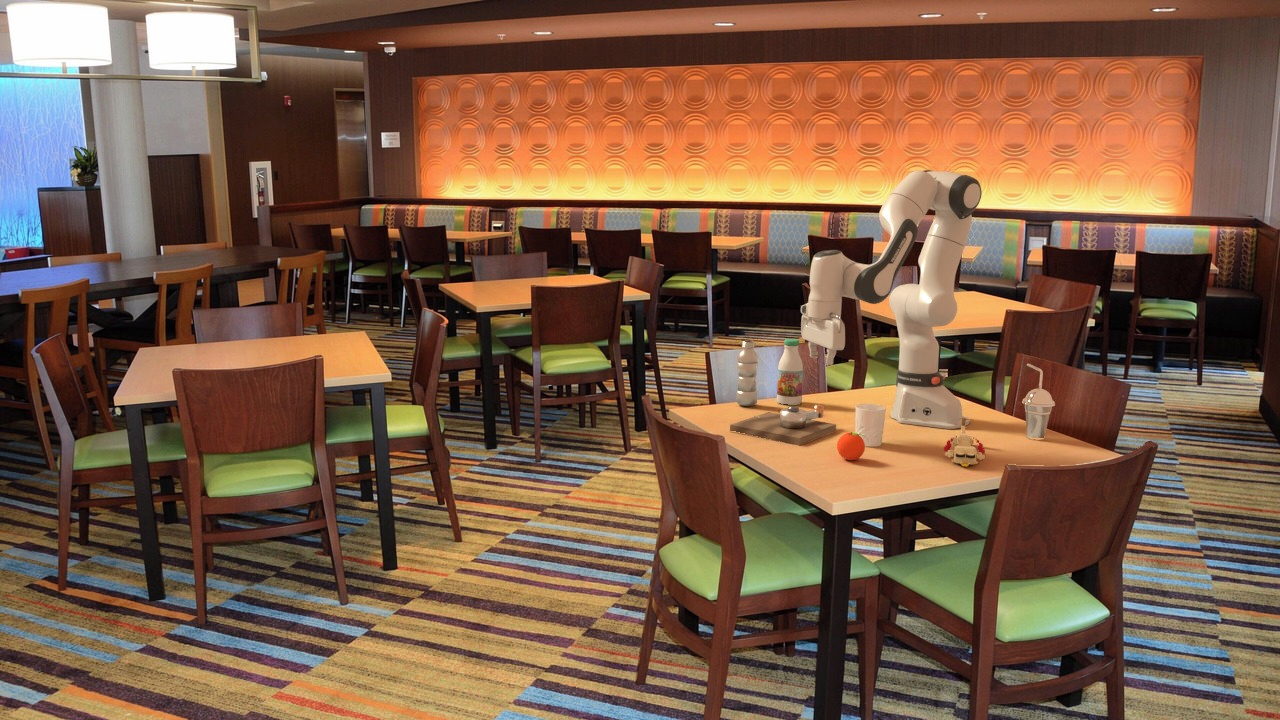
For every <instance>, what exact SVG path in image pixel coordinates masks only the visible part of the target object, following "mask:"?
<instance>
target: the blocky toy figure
mask: <svg viewBox="0 0 1280 720" xmlns="http://www.w3.org/2000/svg"><path fill="white" fill-rule="evenodd" d="M965 423H966V418H962V424H961V428H960V430H961V431H960V432H961V433H959V434H957V433H954V434H953V437H951V438H950V440H949V439H948V440H947V441H946V444H945V446H944V447H943V451H944V452H945V454H944V455H945V457H947V458H952V459H951V460H950V461H951V462H952V463H956V464H960V465H961V467H969V465H976V464H978V463H979V461H977V460H980V461H982V460H985V459H986V458H985V457H986V456H985V454H986V450H985V448H983V445H984V444H983V443H982V442H980V440H979V439H977V438H975V437H972V435H971V434H966V426H965ZM974 439H975V441H976V443H978V445H977V448H976V446H973V444H974ZM952 444H953V445H955V446H954V449H951V448H952V446H953V445H952Z"/></svg>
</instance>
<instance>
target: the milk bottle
mask: <svg viewBox="0 0 1280 720" xmlns="http://www.w3.org/2000/svg"><path fill="white" fill-rule="evenodd" d="M783 347H784V350H783V354H782V356H781V357H780V359H779V362H778V367H777V387H776V402H777V404H779V403H781V404H780V405H783V404H788V405H787V406H796V405H795V404H799V405H801V404H802V402H803V385H804V367H803V366H804V365H803V361H802V358H801V355H800V352H799V347H800V340H799V339H796V338H786V339H784V341H783ZM800 403H801V404H800Z"/></svg>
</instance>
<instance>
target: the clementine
mask: <svg viewBox="0 0 1280 720" xmlns="http://www.w3.org/2000/svg"><path fill="white" fill-rule="evenodd" d="M859 435H861V434H858V433H856V432H846V433H844V434H842V435H841V436H840V437H839V439H838V441H837V444H836V449H837V452H838V454H839V456H840V457H841V458H843V459H845V460H847V461H855V460H858V459H860V458H861V457H862V456H863V455H864V452H865V450H866V446H865V443H864V441H863V439H862V438H861V437H860V436H859ZM862 436H863V435H862ZM864 437H865V436H864ZM867 440H868V439H867ZM868 442H869V441H868Z"/></svg>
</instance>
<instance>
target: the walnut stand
mask: <svg viewBox="0 0 1280 720" xmlns="http://www.w3.org/2000/svg"><path fill="white" fill-rule="evenodd" d="M730 431H736V432H740V433H745V434H748V435H747V436H749V435H753V436H752V437H754V436H758V437H757V438H759V437H761V438H760V439H764V438H766V440H769V439H771V441H774V440H775V442H779V441H780V443H785V444H791V445H794V446H795V445H796V446H801V445H804V444H807V443H809V442H811V441H814V440H817V439H820V438H822V437H824V436H829V435H830V434H832V433H833V434H834V433H835V432H836V431H837V424H836V423H830V422H825V421H820V420H815V419H812V420H807V421H806V426H805V427H803V428H786V427H782V426H781V425H780V413H776V412H772V411H771V412H765V413H762V414H759V415H754V416H753V417H750V418H747V419H743V420H741V421H736V422H734V423H731V424H730V425H729V432H730Z"/></svg>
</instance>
